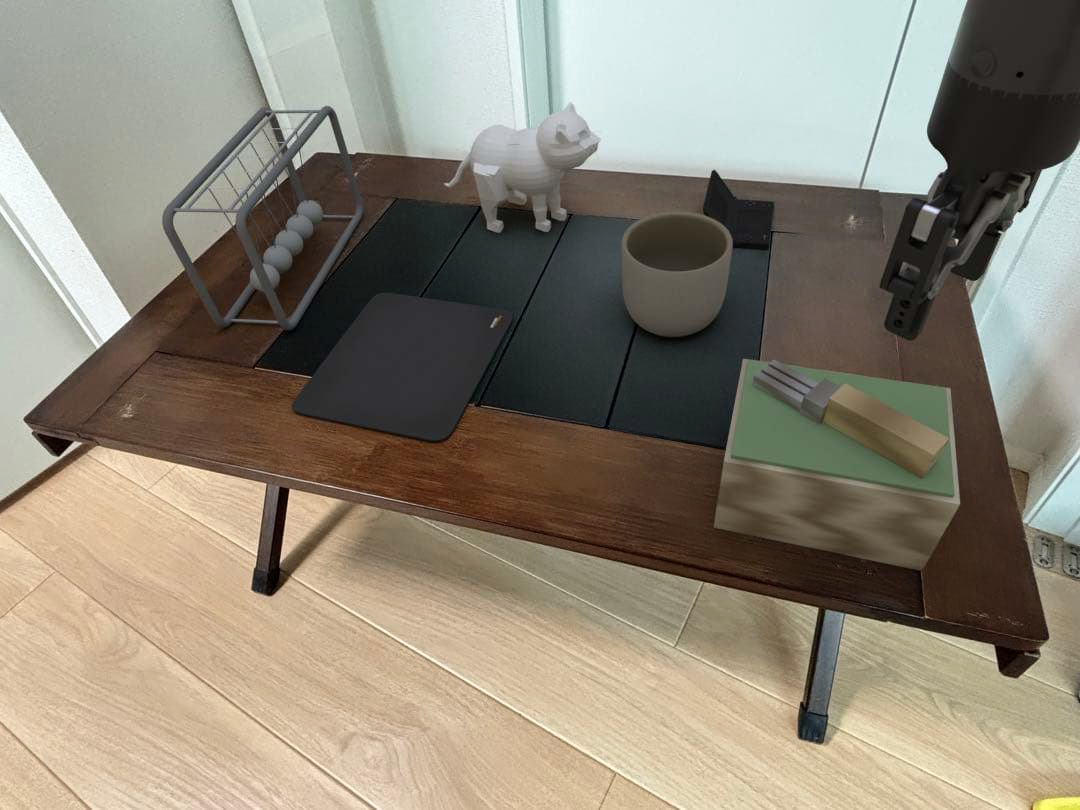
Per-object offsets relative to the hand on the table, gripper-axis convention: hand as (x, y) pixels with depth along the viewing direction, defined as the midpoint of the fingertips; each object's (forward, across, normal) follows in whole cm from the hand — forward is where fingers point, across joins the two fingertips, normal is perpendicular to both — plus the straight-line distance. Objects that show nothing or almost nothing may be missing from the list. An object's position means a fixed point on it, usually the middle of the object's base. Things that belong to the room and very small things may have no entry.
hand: (933, 302), depth 49 cm
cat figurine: (+25, +14, +62) cm, 68 cm away
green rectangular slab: (+15, 0, +4) cm, 16 cm away
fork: (+15, 0, +4) cm, 15 cm away
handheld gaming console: (+25, +32, +37) cm, 55 cm away
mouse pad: (+25, -17, +49) cm, 58 cm away
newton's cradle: (+25, -16, +78) cm, 83 cm away
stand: (+25, 0, +4) cm, 25 cm away
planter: (+25, +11, +31) cm, 42 cm away
